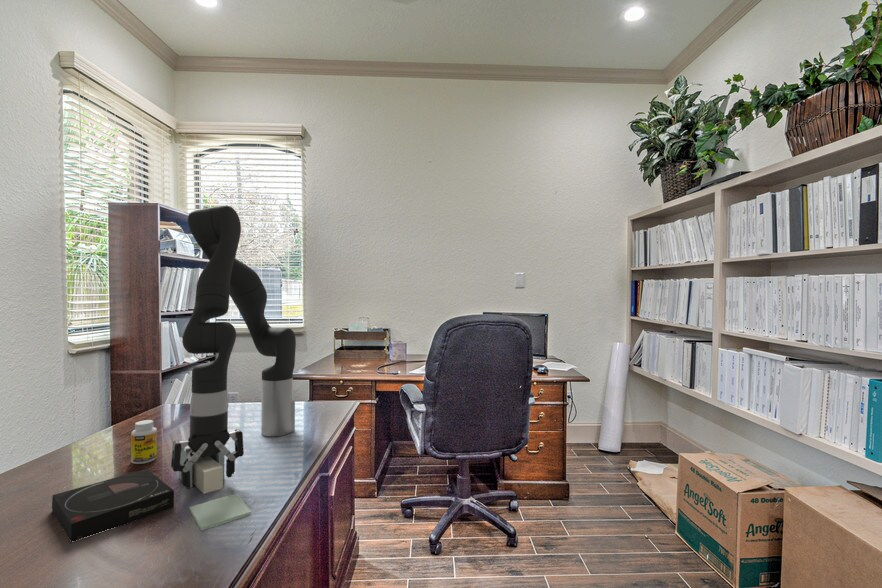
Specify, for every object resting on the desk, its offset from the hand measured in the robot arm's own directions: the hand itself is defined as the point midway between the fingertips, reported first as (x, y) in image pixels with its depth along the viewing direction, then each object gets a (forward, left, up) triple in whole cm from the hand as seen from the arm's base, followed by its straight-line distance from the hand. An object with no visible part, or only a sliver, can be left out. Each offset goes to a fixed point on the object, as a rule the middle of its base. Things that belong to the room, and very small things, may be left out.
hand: (208, 481), depth 97 cm
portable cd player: (+17, -3, -3) cm, 17 cm away
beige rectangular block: (0, -4, -2) cm, 5 cm away
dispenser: (0, -8, -2) cm, 8 cm away
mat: (+1, +12, -2) cm, 12 cm away
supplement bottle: (+9, -29, -2) cm, 30 cm away
